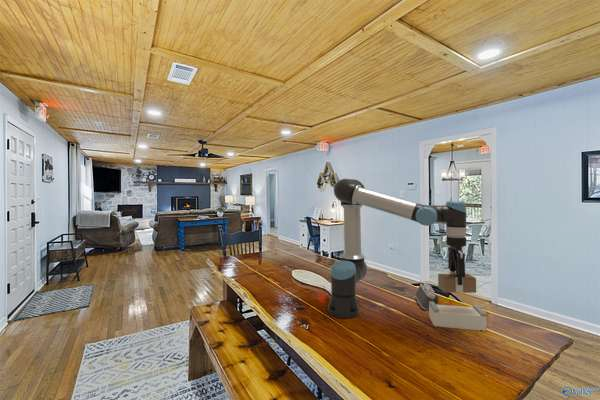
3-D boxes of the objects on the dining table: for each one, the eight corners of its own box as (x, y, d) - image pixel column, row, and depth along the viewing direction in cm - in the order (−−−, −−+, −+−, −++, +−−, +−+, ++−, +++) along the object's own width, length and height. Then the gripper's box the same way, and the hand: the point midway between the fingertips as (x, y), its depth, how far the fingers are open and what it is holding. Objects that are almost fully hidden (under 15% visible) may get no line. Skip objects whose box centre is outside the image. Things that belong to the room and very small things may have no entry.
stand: (434, 326, 115) (434, 309, 115) (429, 316, 124) (429, 301, 124) (486, 331, 111) (486, 313, 111) (477, 321, 120) (477, 305, 119)
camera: (419, 307, 131) (429, 289, 130) (412, 294, 147) (421, 277, 145) (438, 316, 130) (448, 298, 128) (429, 302, 145) (437, 285, 144)
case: (444, 292, 114) (444, 277, 114) (438, 287, 120) (438, 273, 120) (476, 292, 113) (476, 277, 113) (468, 287, 119) (468, 273, 119)
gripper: (474, 240, 106) (475, 298, 107) (457, 233, 125) (458, 282, 126) (453, 239, 108) (454, 296, 108) (440, 233, 127) (440, 281, 127)
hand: (456, 289), depth 117 cm, fingers closed on case, 6 cm apart
